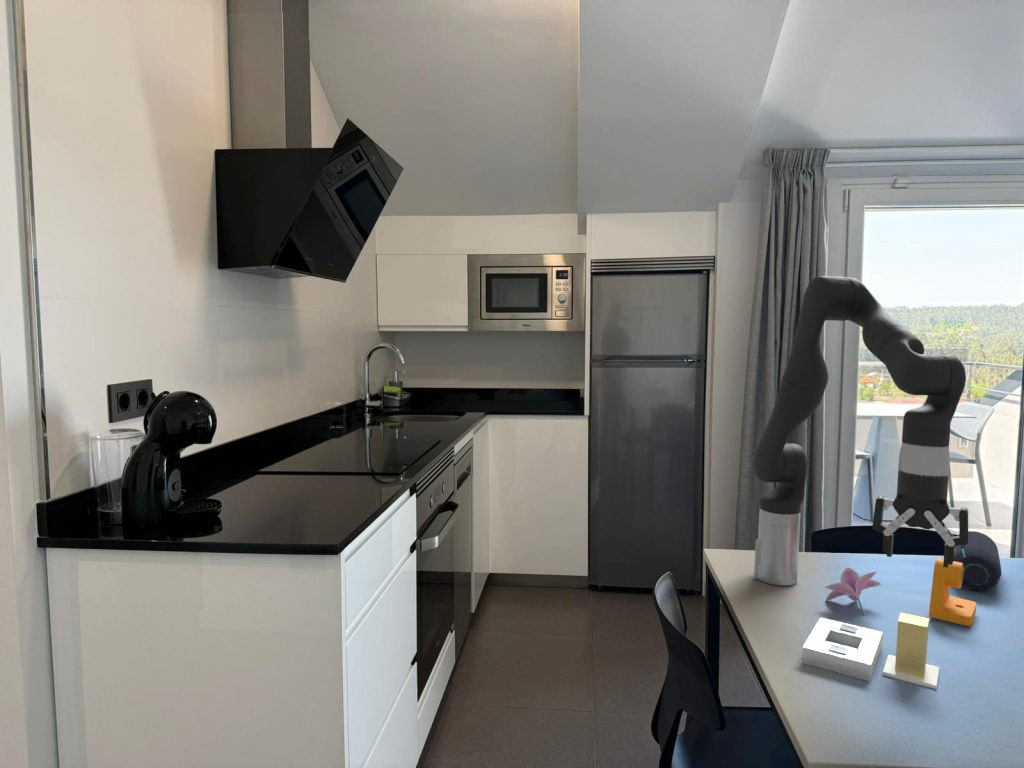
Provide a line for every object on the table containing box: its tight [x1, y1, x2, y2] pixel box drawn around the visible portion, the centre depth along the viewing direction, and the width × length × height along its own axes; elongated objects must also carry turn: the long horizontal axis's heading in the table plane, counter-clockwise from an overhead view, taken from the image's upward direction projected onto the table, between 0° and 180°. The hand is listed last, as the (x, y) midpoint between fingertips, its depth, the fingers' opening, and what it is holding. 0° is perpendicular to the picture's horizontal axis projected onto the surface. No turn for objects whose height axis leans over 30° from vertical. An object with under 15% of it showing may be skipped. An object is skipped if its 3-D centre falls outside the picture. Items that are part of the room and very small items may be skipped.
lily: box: [824, 567, 882, 616], centre depth 148 cm, size 12×12×10 cm
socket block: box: [801, 617, 884, 683], centre depth 126 cm, size 11×16×3 cm
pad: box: [882, 653, 940, 690], centre depth 120 cm, size 8×8×1 cm
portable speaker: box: [954, 530, 1002, 592], centre depth 167 cm, size 25×10×10 cm, turn 147°
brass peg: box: [895, 612, 930, 678], centre depth 120 cm, size 4×4×9 cm
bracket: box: [928, 557, 977, 627], centre depth 144 cm, size 11×7×12 cm, turn 140°
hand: (917, 560), depth 119 cm, fingers open, 8 cm apart
